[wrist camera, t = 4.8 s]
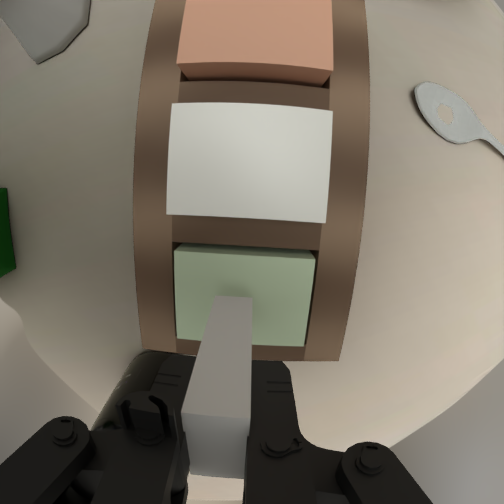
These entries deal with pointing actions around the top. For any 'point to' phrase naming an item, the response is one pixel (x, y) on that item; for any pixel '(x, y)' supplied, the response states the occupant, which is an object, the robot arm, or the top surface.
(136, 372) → the supplement bottle
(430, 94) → the spoon
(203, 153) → the white rectangular block
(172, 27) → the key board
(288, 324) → the sage key
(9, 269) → the milk carton
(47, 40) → the flask
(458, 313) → the top surface
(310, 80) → the terracotta key
